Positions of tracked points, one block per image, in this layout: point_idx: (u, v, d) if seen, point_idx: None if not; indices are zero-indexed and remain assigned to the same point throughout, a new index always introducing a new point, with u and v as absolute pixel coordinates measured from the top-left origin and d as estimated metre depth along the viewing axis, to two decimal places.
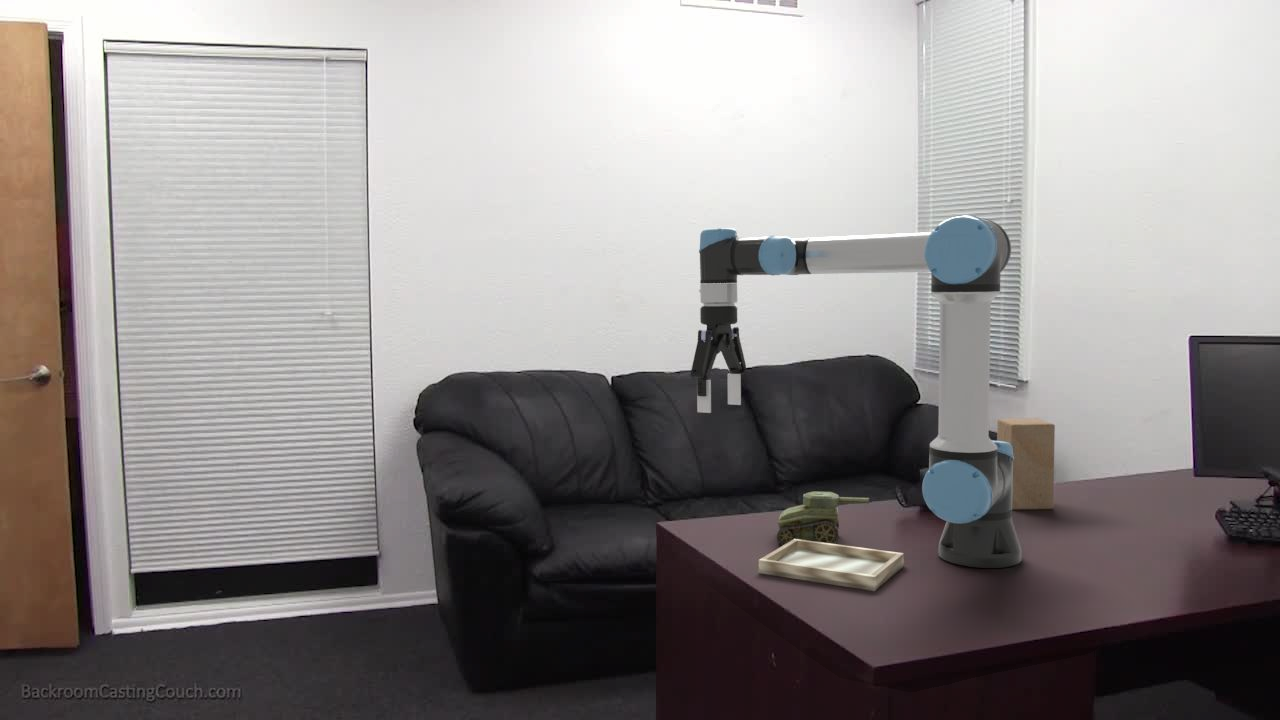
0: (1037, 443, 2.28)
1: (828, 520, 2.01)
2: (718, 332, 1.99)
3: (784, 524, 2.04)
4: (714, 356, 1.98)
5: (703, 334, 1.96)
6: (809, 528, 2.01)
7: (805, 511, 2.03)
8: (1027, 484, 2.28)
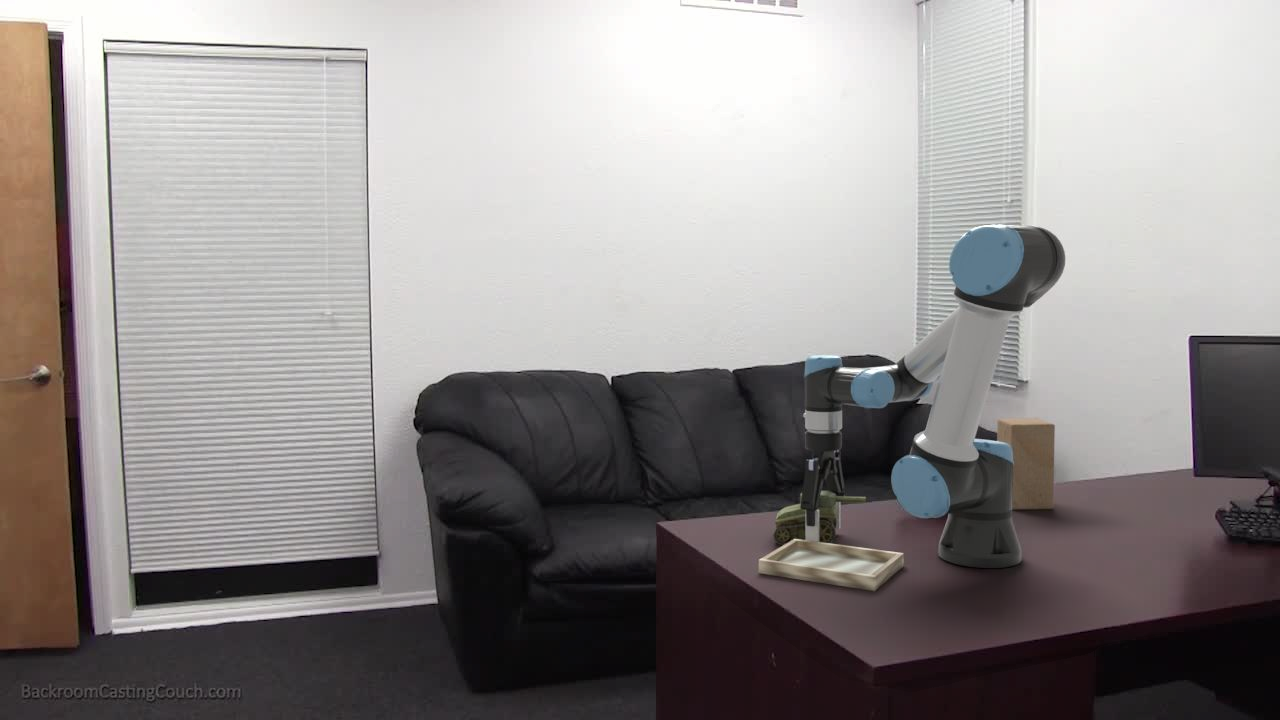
0: (1037, 443, 2.28)
1: (825, 519, 2.02)
2: (824, 458, 2.01)
3: (781, 523, 2.04)
4: (821, 484, 2.00)
5: (811, 464, 1.98)
6: None
7: (802, 510, 2.03)
8: (1027, 484, 2.28)
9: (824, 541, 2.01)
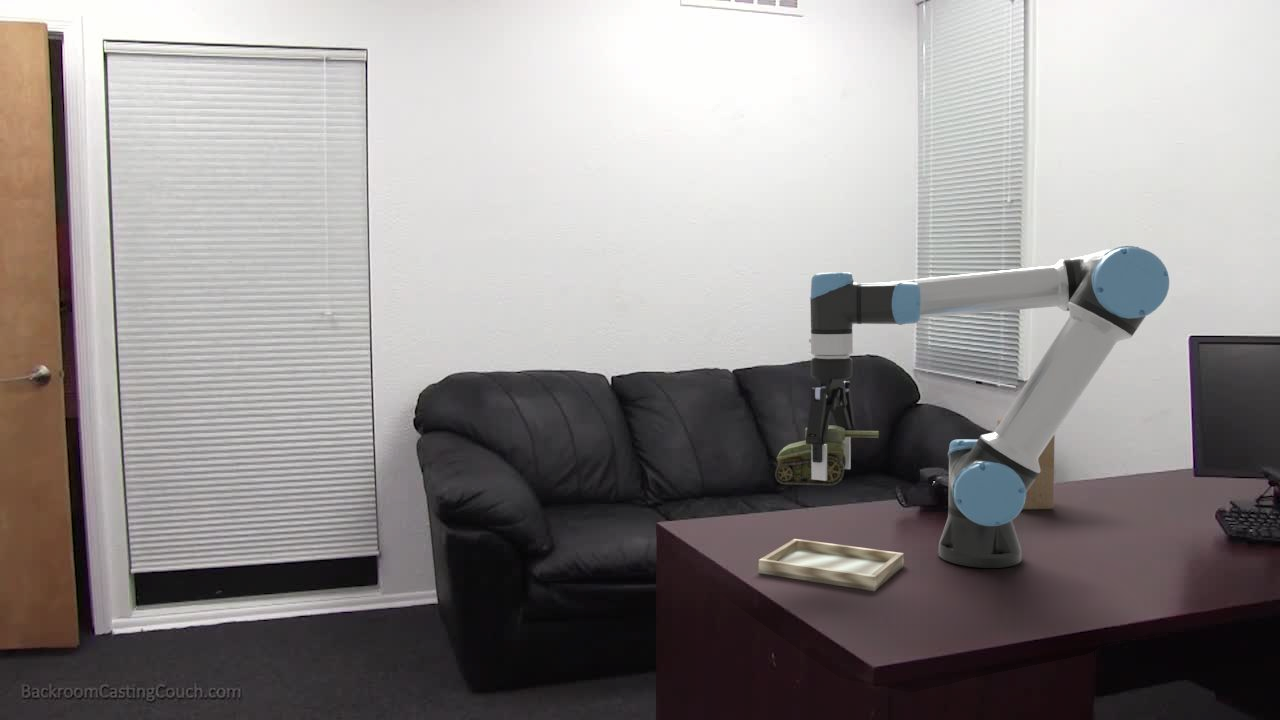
0: None
1: (833, 455, 1.80)
2: (832, 387, 1.79)
3: (784, 460, 1.83)
4: (829, 416, 1.78)
5: (817, 393, 1.76)
6: None
7: (807, 446, 1.81)
8: None
9: (831, 480, 1.79)
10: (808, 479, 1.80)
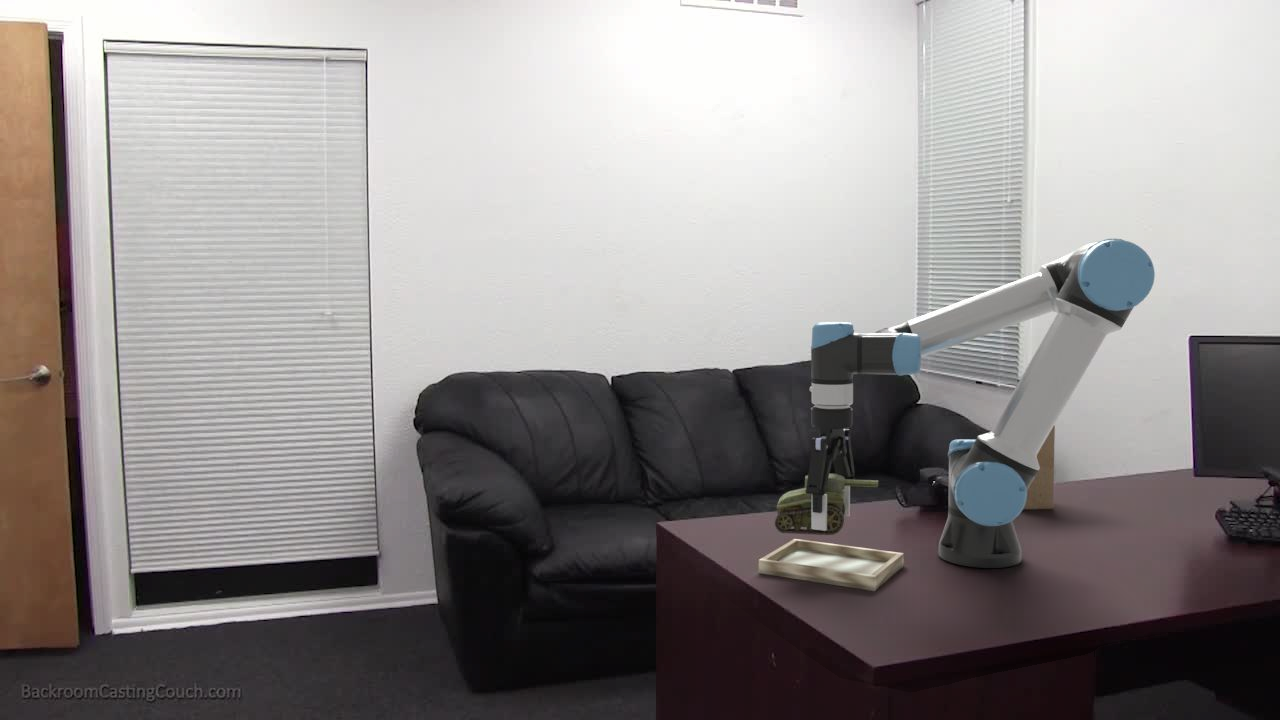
0: None
1: (832, 505, 1.80)
2: (832, 437, 1.80)
3: (783, 509, 1.83)
4: (829, 466, 1.79)
5: (818, 443, 1.77)
6: None
7: (807, 494, 1.82)
8: None
9: (831, 529, 1.80)
10: (808, 528, 1.81)
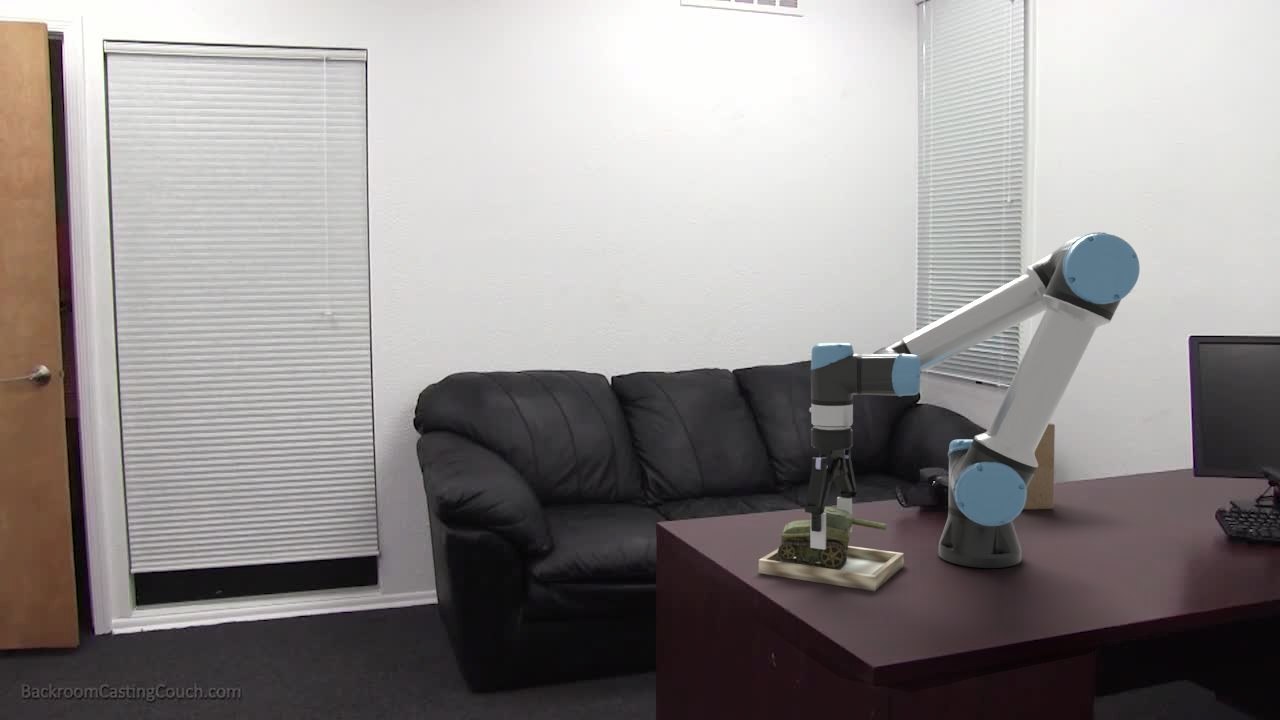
0: None
1: (838, 542, 1.80)
2: (832, 458, 1.80)
3: (788, 538, 1.83)
4: (829, 485, 1.79)
5: (818, 462, 1.77)
6: None
7: None
8: None
9: (833, 566, 1.80)
10: (810, 561, 1.81)
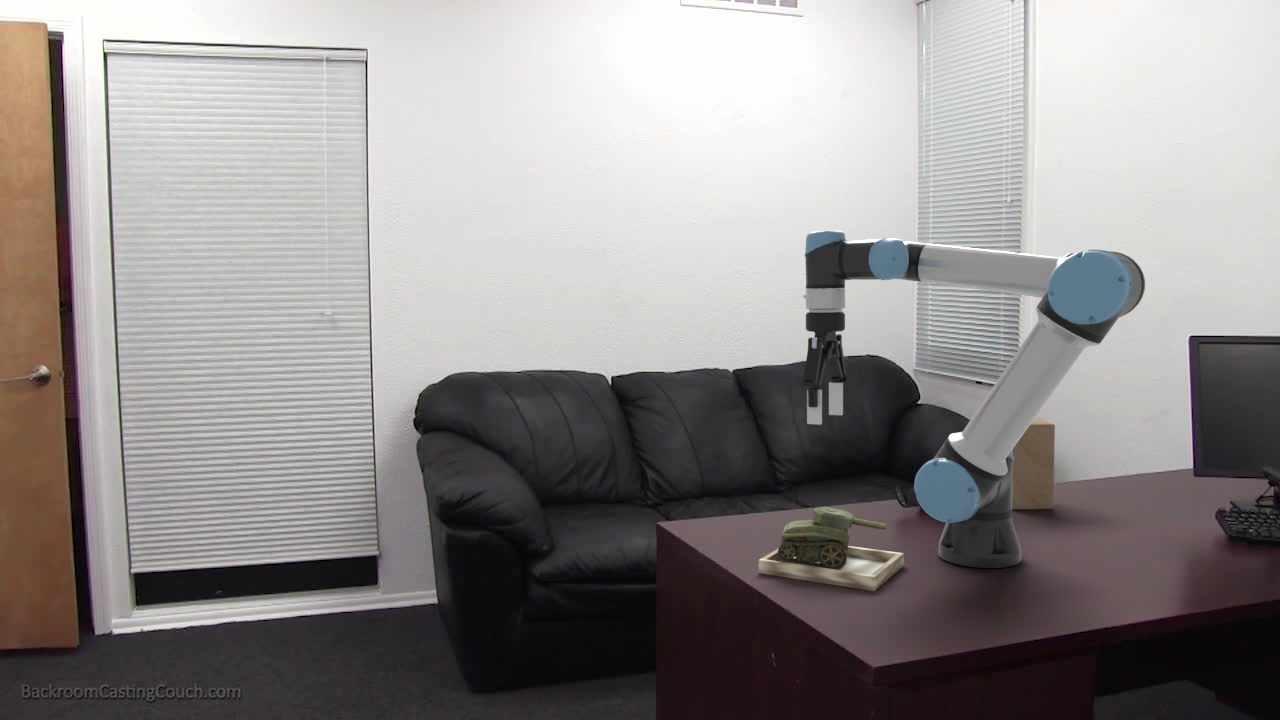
0: (1037, 443, 2.28)
1: (838, 542, 1.80)
2: (827, 339, 1.90)
3: (788, 538, 1.83)
4: (824, 365, 1.89)
5: (814, 342, 1.87)
6: (815, 547, 1.81)
7: (814, 528, 1.82)
8: (1027, 484, 2.28)
9: (833, 566, 1.80)
10: (810, 561, 1.81)
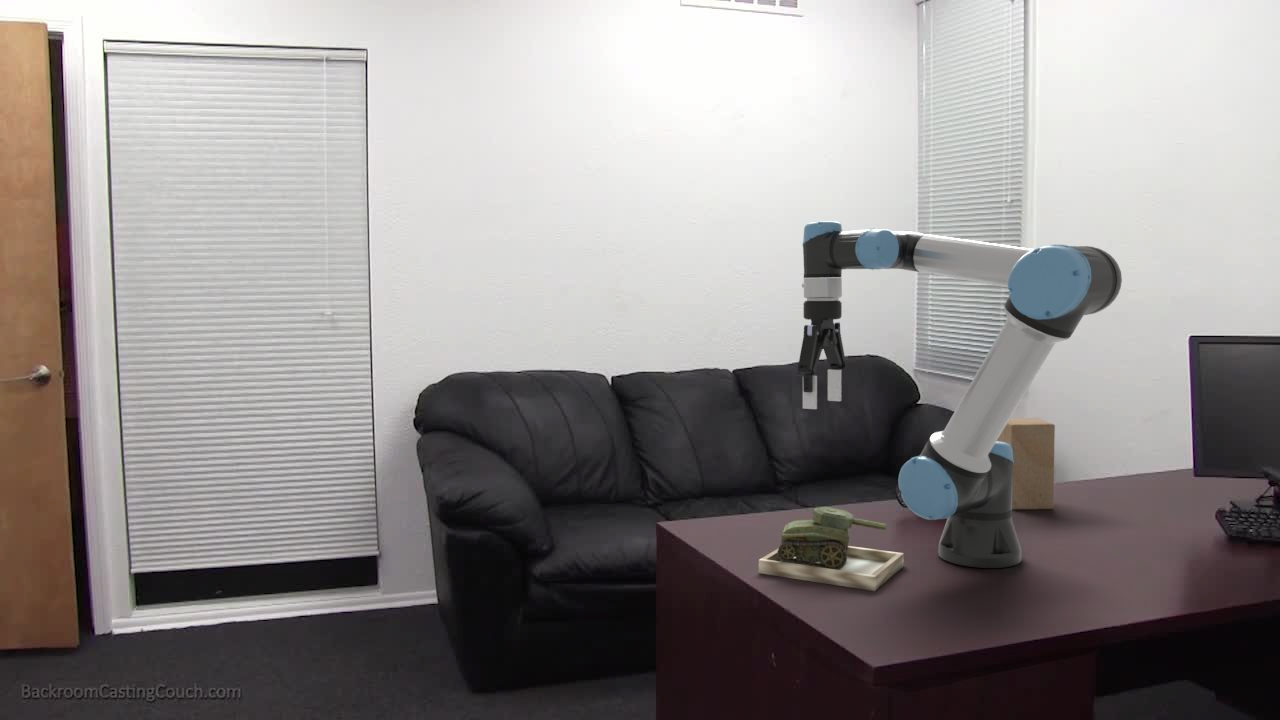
0: (1037, 443, 2.28)
1: (837, 542, 1.80)
2: (823, 327, 1.96)
3: (788, 538, 1.83)
4: (820, 351, 1.95)
5: (809, 329, 1.93)
6: (815, 547, 1.81)
7: (814, 528, 1.82)
8: (1027, 484, 2.28)
9: (833, 566, 1.80)
10: (810, 561, 1.81)
